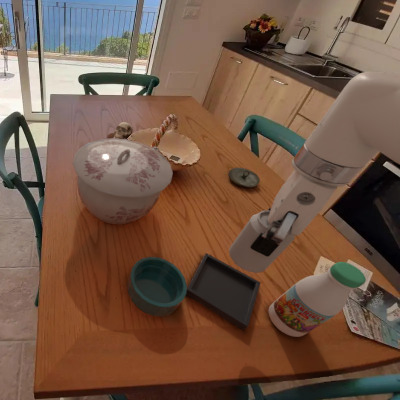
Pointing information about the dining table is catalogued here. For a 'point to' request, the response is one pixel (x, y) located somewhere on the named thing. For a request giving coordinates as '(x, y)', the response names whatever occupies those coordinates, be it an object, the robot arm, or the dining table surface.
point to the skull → (122, 131)
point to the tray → (224, 290)
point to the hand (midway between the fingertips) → (263, 237)
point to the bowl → (156, 286)
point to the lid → (244, 177)
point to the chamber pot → (120, 178)
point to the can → (245, 239)
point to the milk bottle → (315, 299)
